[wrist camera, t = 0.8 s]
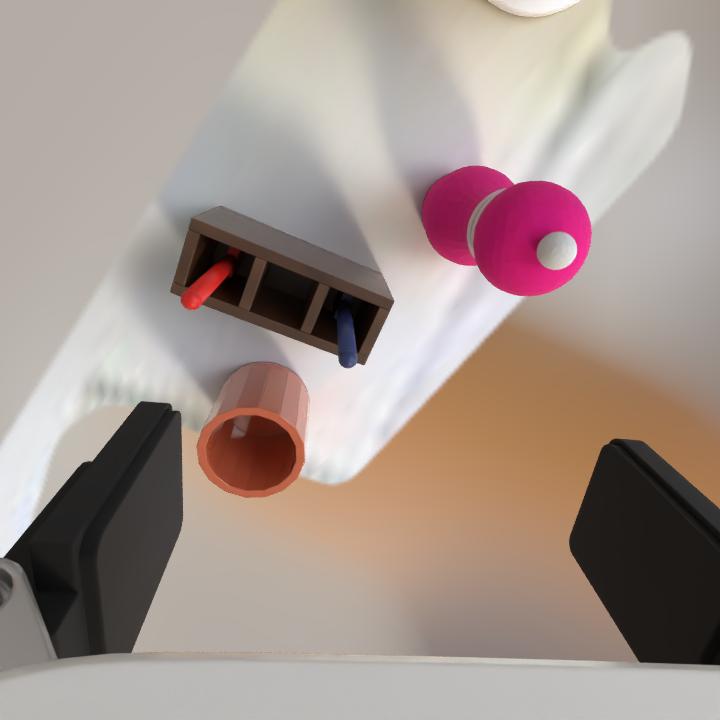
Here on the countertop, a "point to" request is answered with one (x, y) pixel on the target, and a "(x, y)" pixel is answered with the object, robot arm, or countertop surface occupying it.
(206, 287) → the red toy mallet
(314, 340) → the caddy
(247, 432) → the crock
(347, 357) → the blue rounded rod
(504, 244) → the pepper mill
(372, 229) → the countertop surface
